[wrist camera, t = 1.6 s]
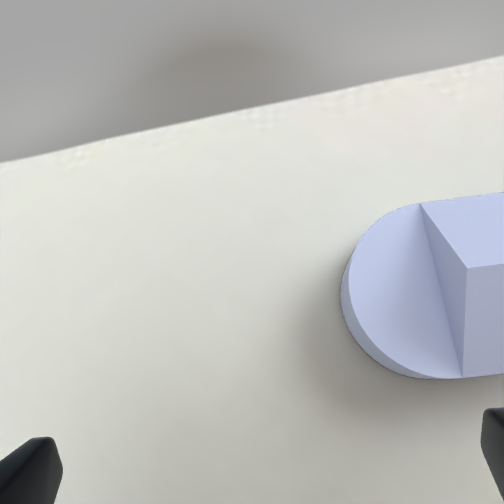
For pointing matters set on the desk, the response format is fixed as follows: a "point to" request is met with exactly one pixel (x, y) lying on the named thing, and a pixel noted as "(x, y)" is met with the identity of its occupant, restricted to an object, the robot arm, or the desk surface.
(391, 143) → the desk surface
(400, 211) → the wedge on round base
